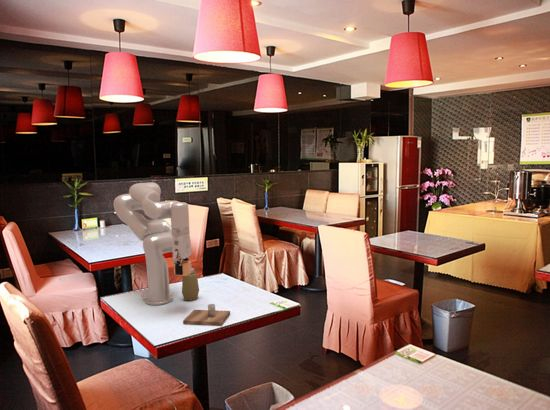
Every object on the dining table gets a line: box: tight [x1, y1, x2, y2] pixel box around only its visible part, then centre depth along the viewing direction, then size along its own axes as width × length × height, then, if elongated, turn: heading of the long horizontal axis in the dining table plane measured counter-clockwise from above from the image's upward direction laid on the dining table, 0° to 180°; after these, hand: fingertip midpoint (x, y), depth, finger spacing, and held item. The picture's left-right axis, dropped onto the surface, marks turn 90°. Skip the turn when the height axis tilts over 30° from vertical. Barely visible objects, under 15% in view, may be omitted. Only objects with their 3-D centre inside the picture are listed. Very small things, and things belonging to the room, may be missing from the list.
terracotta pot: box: [173, 260, 192, 277], centre depth 178 cm, size 7×7×6 cm
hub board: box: [182, 303, 231, 327], centre depth 170 cm, size 16×12×6 cm
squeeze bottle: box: [181, 265, 200, 302], centre depth 195 cm, size 8×8×18 cm
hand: (182, 271), depth 178 cm, fingers closed on terracotta pot, 6 cm apart
